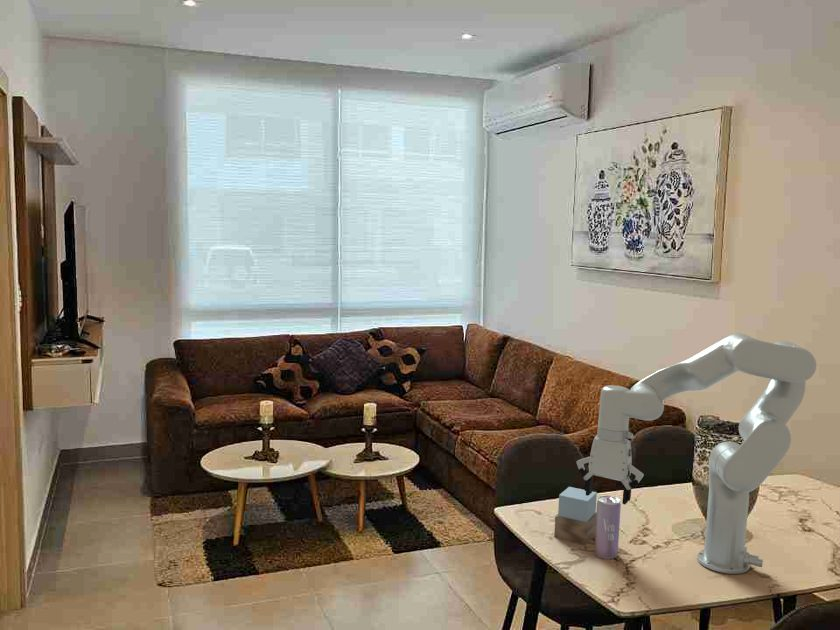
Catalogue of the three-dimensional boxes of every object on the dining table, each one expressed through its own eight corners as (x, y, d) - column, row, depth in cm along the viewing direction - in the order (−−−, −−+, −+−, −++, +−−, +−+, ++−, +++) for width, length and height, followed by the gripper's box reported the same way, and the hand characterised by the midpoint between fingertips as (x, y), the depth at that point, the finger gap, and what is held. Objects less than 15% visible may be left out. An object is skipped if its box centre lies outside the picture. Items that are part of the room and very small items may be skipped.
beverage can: (615, 550, 203) (619, 496, 201) (619, 560, 197) (622, 504, 195) (592, 549, 204) (595, 494, 202) (595, 558, 198) (598, 502, 196)
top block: (595, 513, 213) (596, 492, 212) (586, 522, 206) (587, 501, 206) (568, 507, 217) (569, 486, 216) (558, 516, 210) (559, 495, 210)
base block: (596, 533, 214) (597, 512, 214) (585, 544, 207) (587, 523, 206) (565, 526, 219) (566, 506, 218) (554, 537, 211) (555, 516, 210)
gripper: (650, 437, 195) (644, 502, 197) (584, 425, 204) (579, 487, 206) (642, 444, 189) (636, 510, 191) (574, 431, 197) (569, 495, 200)
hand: (606, 498), depth 198 cm, fingers open, 9 cm apart
